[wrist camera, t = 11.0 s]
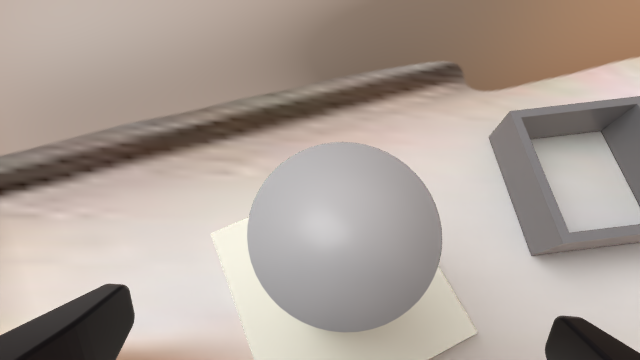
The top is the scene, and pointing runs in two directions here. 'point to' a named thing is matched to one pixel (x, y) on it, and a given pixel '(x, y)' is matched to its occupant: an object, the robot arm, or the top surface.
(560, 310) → the top surface
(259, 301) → the cream board
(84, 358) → the robot arm
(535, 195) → the collar
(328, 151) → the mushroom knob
